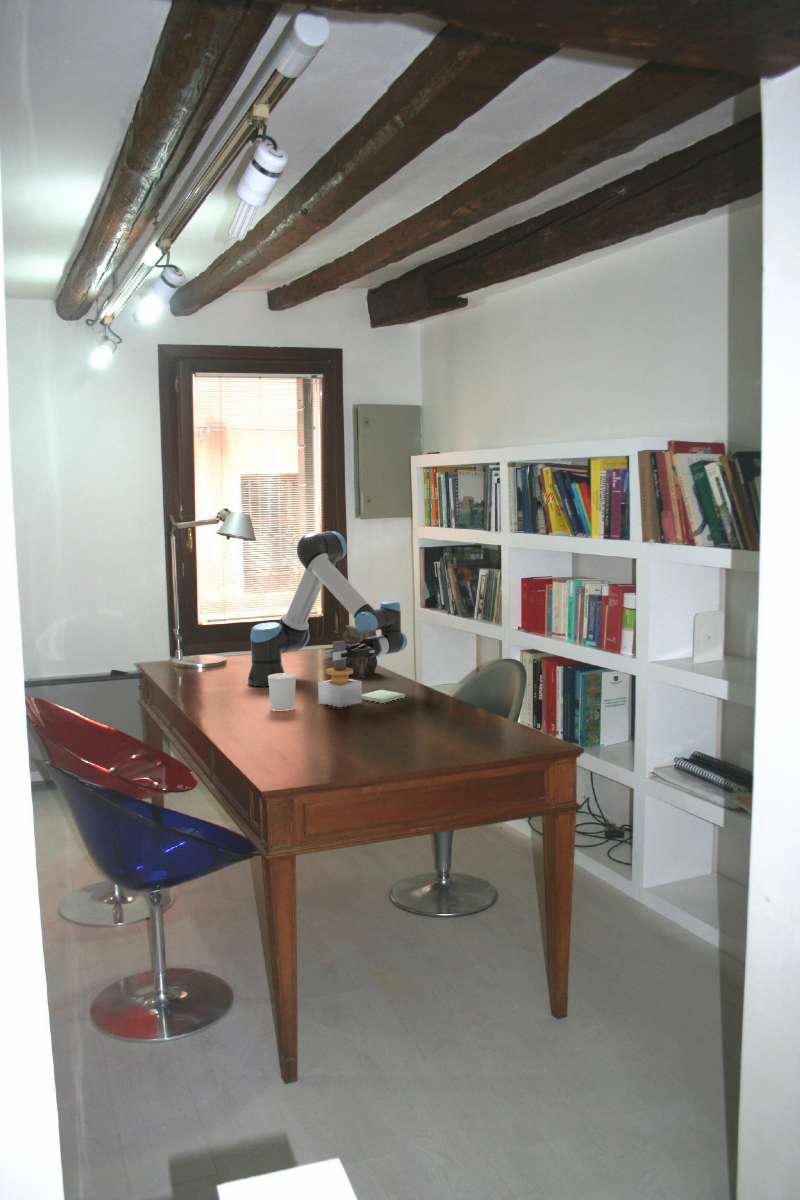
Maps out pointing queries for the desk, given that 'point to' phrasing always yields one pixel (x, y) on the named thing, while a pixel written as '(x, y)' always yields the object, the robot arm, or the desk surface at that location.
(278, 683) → the candle holder
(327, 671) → the end cover
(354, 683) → the block
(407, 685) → the desk surface
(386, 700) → the mat
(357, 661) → the owl
